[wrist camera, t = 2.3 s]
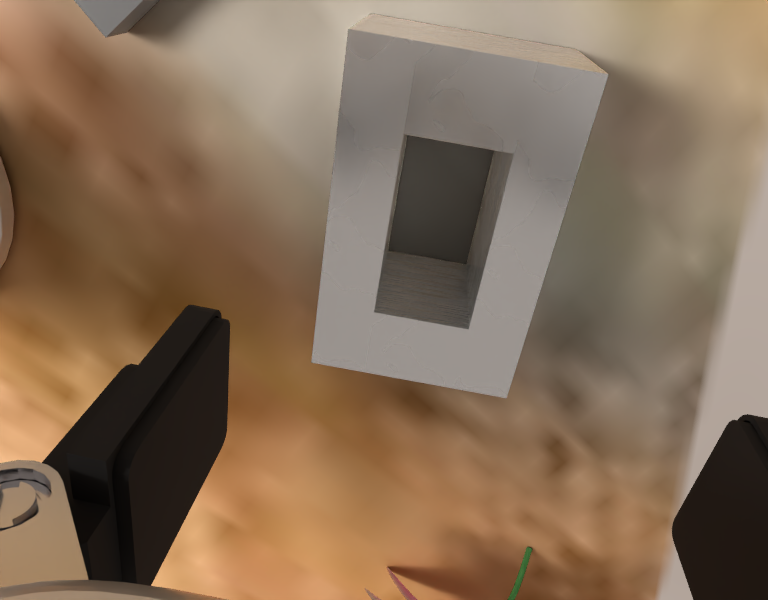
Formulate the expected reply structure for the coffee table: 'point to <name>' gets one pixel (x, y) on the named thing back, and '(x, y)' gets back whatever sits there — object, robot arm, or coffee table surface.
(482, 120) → the slotted block
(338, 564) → the coffee table surface
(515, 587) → the lily
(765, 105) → the coffee table surface
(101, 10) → the grey piece
